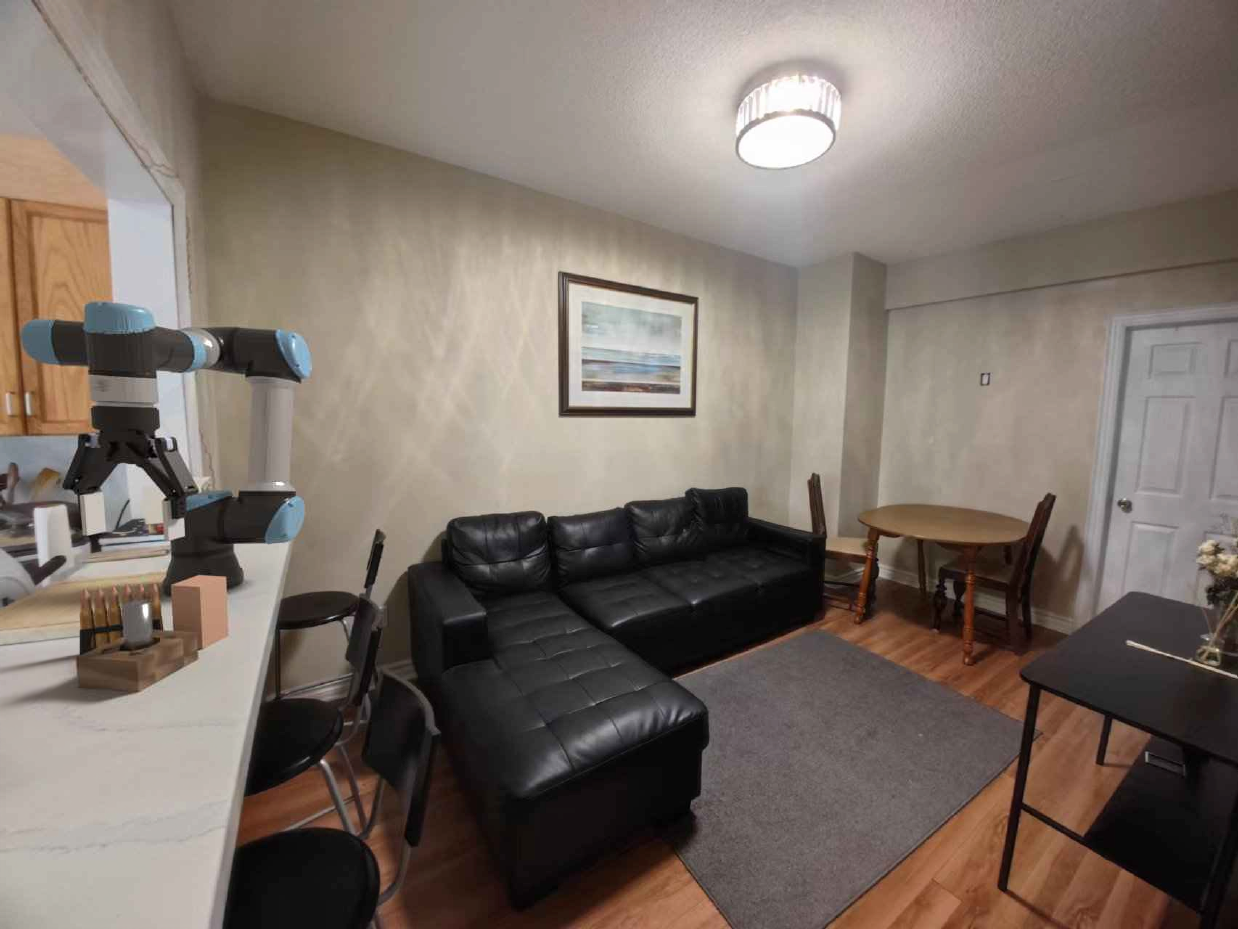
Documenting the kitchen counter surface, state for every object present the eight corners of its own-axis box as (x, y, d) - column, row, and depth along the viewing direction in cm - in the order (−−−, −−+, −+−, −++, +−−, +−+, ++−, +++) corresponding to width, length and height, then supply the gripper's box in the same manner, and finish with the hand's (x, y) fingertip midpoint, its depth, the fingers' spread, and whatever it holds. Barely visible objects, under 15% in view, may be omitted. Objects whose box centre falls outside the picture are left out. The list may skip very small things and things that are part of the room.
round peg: (141, 666, 81) (137, 599, 80) (160, 667, 81) (157, 600, 79) (120, 677, 77) (115, 607, 76) (140, 678, 77) (135, 608, 76)
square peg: (201, 634, 93) (198, 575, 92) (228, 635, 93) (226, 576, 91) (174, 647, 87) (170, 585, 86) (202, 649, 87) (199, 587, 86)
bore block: (144, 655, 84) (142, 628, 84) (198, 659, 84) (196, 632, 83) (78, 687, 74) (75, 657, 74) (139, 691, 74) (137, 661, 73)
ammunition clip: (79, 658, 83) (74, 592, 81) (84, 653, 84) (79, 588, 83) (162, 645, 88) (158, 583, 87) (165, 641, 90) (161, 580, 88)
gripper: (19, 400, 71) (32, 537, 74) (178, 408, 70) (186, 546, 73) (78, 401, 79) (88, 525, 81) (222, 409, 78) (228, 534, 80)
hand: (134, 536), depth 77 cm, fingers open, 13 cm apart
